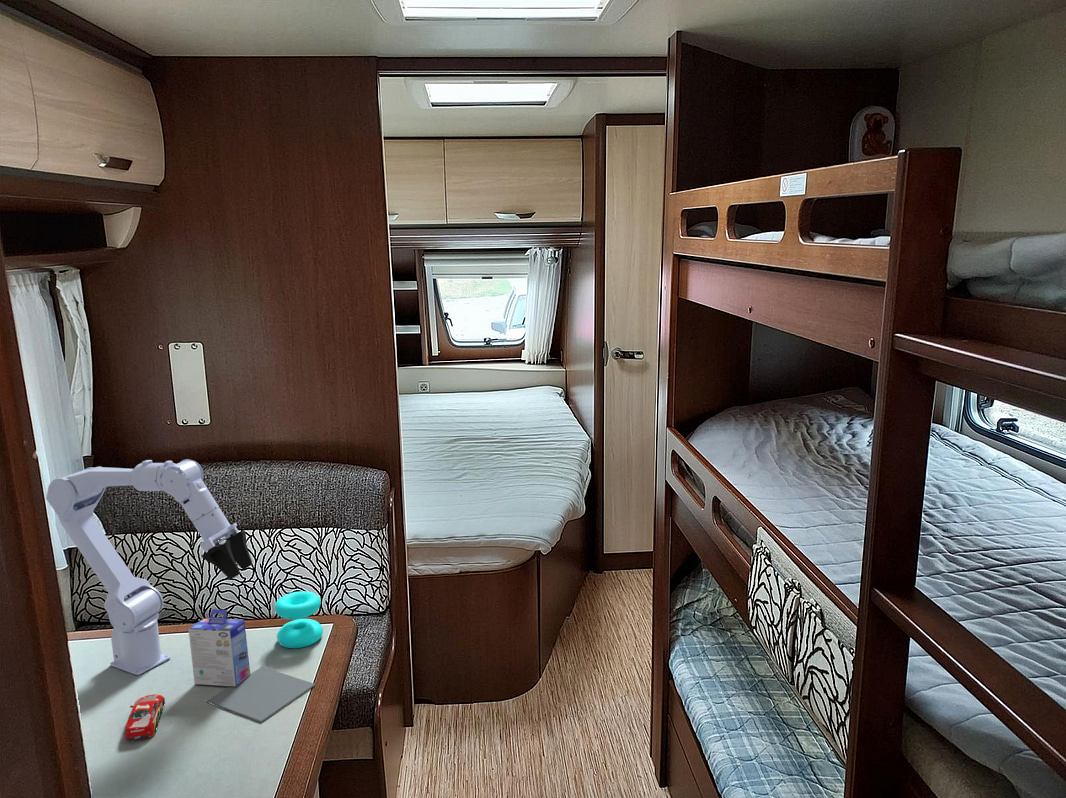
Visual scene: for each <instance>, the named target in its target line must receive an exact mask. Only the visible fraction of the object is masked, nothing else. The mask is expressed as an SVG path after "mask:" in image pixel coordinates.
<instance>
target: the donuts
mask: <svg viewBox="0 0 1066 798" xmlns="http://www.w3.org/2000/svg"><path fill="white" fill-rule="evenodd" d="M321 604H322V601H321V598H320V596H319V595H318V594H316V593H315V592H312V591H306V590H304V591H303V590H302V591H300V590H299V591H293V592H290V593H286V594H285V595H282V596H281V597H279V598H278V599H277V601H276V602H275V604H274V611H275V613H276V615H277V616H279V617H280V618H282V619H286V620H291V621H289V622H287V623H285V624H284V625H283V626H281V627H280V628H279V629H278V632H277V635H276V639H277V641H278V644H280V645H281V646H283V647H284V648H289V649H299V648H304V647H308V646H310V645H313V644H315V643H316V642H318V641H319V640H320V639H321V637H322V636H323V632H324V631H323V629H324V628H323V627H322V625H321V623H319V622H318V621H317V620H315V619H310V618H307V617H310V616H312V615H314V614H315V613H316V612H317V611H318V610H319V609H320V607H321Z"/></svg>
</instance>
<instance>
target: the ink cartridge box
mask: <svg viewBox="0 0 1066 798" xmlns="http://www.w3.org/2000/svg"><path fill="white" fill-rule="evenodd" d="M210 611H211V612H210V615H209V618H202V619H201V620H199V621H198V622H196V623H194V624H193V625H192V626H191V627H189V628H188V629H187V631H188V637H189V647H190V653H191V655H190V656H191V663H192V673H193V684H194V685H202V686H203V685H204V686H205V685H206V686H207V685H208V686H219V687H220V686H222V687H229V686H233V687H235V686H237V685H238V684H239V683H241V682H242V681H243V680H244V679H246V678H247V677H248V676H250V674H251V667H250V659H249V658H250V657H249V649H248V642H247V631H246V622H245V619H243V618H242V619H237V618H235V619H230V618H227V616H228V615H227V614H228V610H227V609H213V608H212V609H211V610H210ZM216 614H220V615H223V617H217V616H216V617H215V616H214V615H216Z"/></svg>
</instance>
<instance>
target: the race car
mask: <svg viewBox="0 0 1066 798" xmlns="http://www.w3.org/2000/svg"><path fill="white" fill-rule="evenodd" d="M165 699H166V698H165V696H163V695H161V694H155V693H154V694H148V695H144V696H142V697H140V698H138V699H137V700H136V701H134V704H133V705H129V708H132V709H131V712H130V714H129V716H128V719H127V721H126V724H125V727H124V740H125V741H126V742H134V741H140V740H145V739H146V740H147V739H148V738H152V737H153V736H154V735H155V734H156V733H157V730H156V728H157V729H158V727H159V725H160V721H159V720H161V718H162V716H163V715H162V714H163V712H164V709H163V706H164V704H165V705H166V701H165ZM164 707H165V706H164ZM162 711H163V712H162ZM158 724H159V725H158Z"/></svg>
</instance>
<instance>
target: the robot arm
mask: <svg viewBox="0 0 1066 798" xmlns="http://www.w3.org/2000/svg"><path fill="white" fill-rule="evenodd" d="M203 479H204V470H203V468H202V466H201V465H200V464H199V462H197V461H195V460H194V459H193V460H192V459H188V458H186V459H182V460H181V461H180V462H178V463H174V462H173V460H166V461H164V462H153V459H146V460H143V461H142V462H141V463H139V464H137V465H136V466H135V467H134V468H122V467H106V466H105V467H103V466H96V467H91V466H90V467H86V468H85V469H83V470H79V471H77V472H74V473H72V474H68V475H66V476H63V477H58V478H57V477H56V478H55V479H53V480H51V481H50V483H49V485H48V488H47V492H46V497H45V499H46V500H47V503H49V505H50V506H51V508H52V509H53V512H55V514H56V515H57V516H58V517H57V518H58V520H59V523H60V524H61V526H62V528H63V529H64V530H65V532H66V533H67V534H68V537H70V539H71V541H72V542H73V544H74V545H75V546H76V548H77V549H78V551H79V552H80V554H81V555H82V556H83V558H84V559H85V560H86V562H87V563H88V564H87V565H89V567H90V568H91V569H92V571H93V572H94V573H95V575H96V577H97V578H98V579H99V582H101V584H102V585H103V587H104V588H105V590H106V591H107V592H108V593H107V596H106V598H105V602H104V603H103V607H104V609H105V611H106V612H107V615H108V619H109V622H110V624H111V626H112V627H113V628H112V631H111V634H110V639H111V646H112V647H111V648H112V656H113V657H112V658H113V661H111V662H110V664H109V665H110V666H112V667H114V668H117V669H119V670H121V671H125V672H127V673H129V674H131V675H132V674H133V675H135V676H139V675H142V674H143V673H145V672H147V671H149V670H151V669H153V668H155V667H157V666H159V665H160V664H162V663H164V662H166V661H168V660H170V659H171V655H168V654H166V653H163V652H161V642H160V641H161V640H160V634H159V633H160V631H159V625H158V619H159V617H160V614H159V613H160V612H161V611H162V610H163V608H164V598H163V596H162V593H161V592H160V591H159V590H158V589H157V588H155V587H153V586H152V585H151V584H150V581H148V580H147V579H144V578H142V577H141V578H140V577H137V576H134V575H133V573H132V572H131V571H130V569H129V568H128V566H127V565H126V563H125V561H123V559H122V557H121V556H120V555H119V553H118V551H117V550H116V549H115V547H114V546H113V544H112V543H111V541H110V540H109V539H108V536H106V534H105V533H104V532H103V529H102V528H101V527H100V525H99V524H98V523H97V521H96V520H95V518H94V517H93V516H94V515H93V514H94V512H95V509H96V507H97V506H98V504H99V503H100V500H101V498H102V497H103V495H104V493H105V491H106V489H107V487H121V486H122V487H123V486H124V487H125V486H132V487H133V488H135V490H137V491H139V492H164V493H166V494H168V495H170V496H172V497H173V498H174V499H175V501H176V502H178V503H179V504H180V505H181V508H183V510H184V511H185V513H186V515H187V517H188V518H189V520H190V521H191V523H192V524H193V526H194V527H195V529H196V530H197V533H198V534H199V535H200V537H201V538H202V540H203V541H202V542H200V543H199V545H200V547H201V548H202V550H203V551H204V553H203V554H202V555H201V556H200V557H201V558H202V559H203V560H205V561H207V562H209V563H210V564H211V565H214V566H215V568H218V569H219V571H220V572H222V573H223V574H224V575H225V576H226V577H227V578H228V579H229V580H233V579H235V578H236V577H237V576H239V575H240V574H241V571H240V569H242V570H246V569H247V568H250V567H251V566H252V565H253V560H252V557H251V554H250V551H249V549H248V543H247V539H246V538H247V533H246V530H244V529H243V530H241V531H239V529H238V528H237V526H238V524H237V522H234V523H233V524H230V522H229V521H228V519H227V517H226V516H225V514H224V513H223V511H222V510H221V508H220V505H218V503H217V501H216V500H215V498H214V496H213V494H212V493H211V492H210V490H209V488H208V487H207V486H206V484H205V481H203ZM224 541H225V542H224ZM222 542H224V543H222ZM127 596H128V597H127Z"/></svg>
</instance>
